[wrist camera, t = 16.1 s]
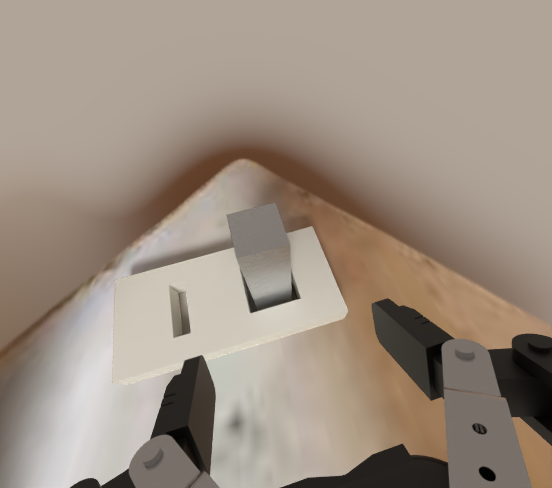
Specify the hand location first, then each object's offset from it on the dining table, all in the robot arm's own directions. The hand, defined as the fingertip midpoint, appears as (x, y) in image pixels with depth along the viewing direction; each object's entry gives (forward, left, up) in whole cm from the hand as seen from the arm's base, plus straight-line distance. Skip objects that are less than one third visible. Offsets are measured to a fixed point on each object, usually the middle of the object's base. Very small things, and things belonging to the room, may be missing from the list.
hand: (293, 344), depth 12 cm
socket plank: (-5, +9, -18) cm, 21 cm away
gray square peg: (0, +9, -18) cm, 20 cm away
